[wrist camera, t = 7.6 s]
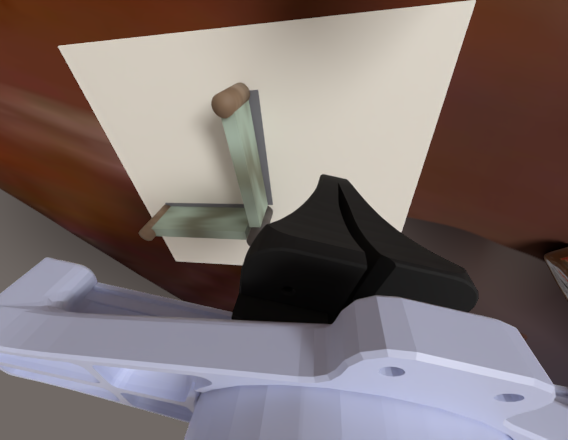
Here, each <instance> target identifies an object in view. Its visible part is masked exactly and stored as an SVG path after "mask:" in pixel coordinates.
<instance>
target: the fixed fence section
mask: <svg viewBox="0 0 568 440" xmlns="http://www.w3.org/2000/svg"><path fill="white" fill-rule="evenodd" d="M272 215H273V210H272V208H271V207H269V206H267V209H266V212H265V215H264V218H263V221H262V224H261V227H249V223H248V219H247V215H246V211H245V208H234V207H180V206H169V205H164V206H163V207H162V208H161V209H160V210H159V211H158V212H157V213H156V214H155V215H154V216H153V217H152V218H151V219H150V221H149V222H148V223H147V224H146V225H145V226H144V227H143V228H142V229H141V230H140V231H139V235H140V236H141V237H142V238H143V239H145V240H147V241H151V240H153V238H154V237H155V236H166V237H191V238H215V239H240V240H247V244H248V245H249V246H251V244H252V242H253V241H254V239H255V238H256V236H257V235H258V234H259V232H260V231H261V230H262V228H263V227H264V226H265V225H266V224H269V223H270V221H271V218H272Z"/></svg>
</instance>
